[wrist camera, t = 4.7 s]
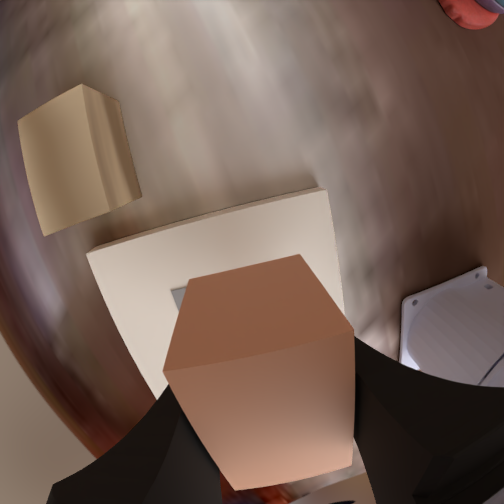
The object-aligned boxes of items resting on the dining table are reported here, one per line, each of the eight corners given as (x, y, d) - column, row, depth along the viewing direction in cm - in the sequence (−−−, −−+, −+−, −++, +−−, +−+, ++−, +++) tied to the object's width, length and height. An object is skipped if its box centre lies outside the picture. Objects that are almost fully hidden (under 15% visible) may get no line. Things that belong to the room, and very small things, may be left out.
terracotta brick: (299, 253, 10) (354, 329, 6) (317, 377, 12) (351, 465, 7) (189, 279, 10) (162, 371, 6) (230, 396, 12) (235, 490, 7)
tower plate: (318, 186, 16) (327, 189, 15) (343, 369, 21) (349, 382, 19) (95, 246, 16) (85, 254, 15) (172, 406, 21) (169, 420, 19)
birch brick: (119, 101, 14) (81, 83, 9) (142, 196, 16) (110, 211, 11) (64, 126, 14) (17, 121, 9) (86, 215, 16) (44, 236, 11)
